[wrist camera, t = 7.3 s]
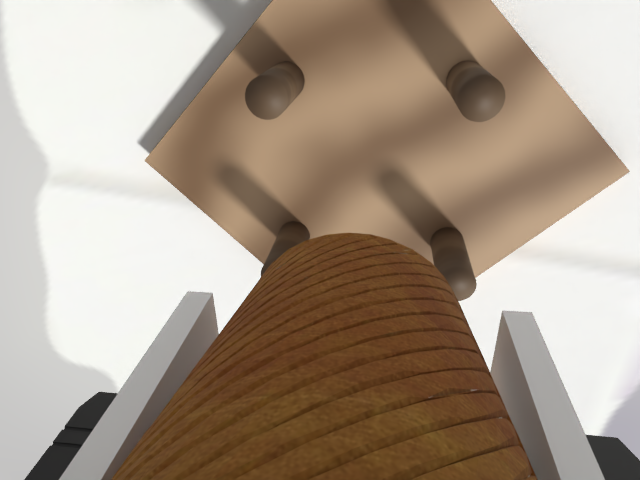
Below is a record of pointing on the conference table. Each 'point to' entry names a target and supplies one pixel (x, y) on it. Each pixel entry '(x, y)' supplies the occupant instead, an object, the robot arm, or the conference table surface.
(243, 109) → the holder
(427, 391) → the disposable coffee cup
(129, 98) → the conference table surface
